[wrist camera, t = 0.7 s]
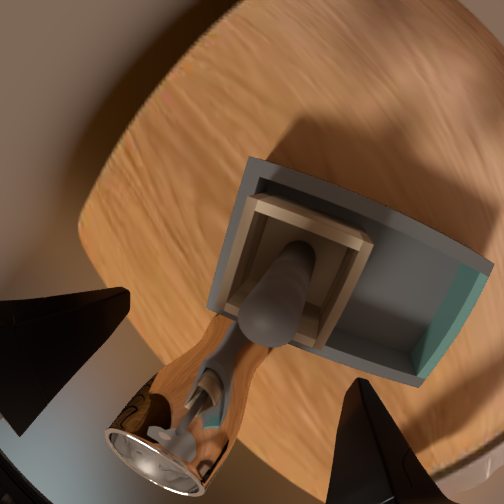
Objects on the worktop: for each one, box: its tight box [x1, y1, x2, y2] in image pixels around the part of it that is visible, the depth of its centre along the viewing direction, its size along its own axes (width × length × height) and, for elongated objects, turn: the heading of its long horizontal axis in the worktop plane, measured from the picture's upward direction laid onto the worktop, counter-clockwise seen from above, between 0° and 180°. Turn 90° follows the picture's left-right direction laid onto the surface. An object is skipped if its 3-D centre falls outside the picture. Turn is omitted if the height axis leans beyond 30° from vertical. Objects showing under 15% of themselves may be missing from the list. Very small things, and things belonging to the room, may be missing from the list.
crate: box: [215, 192, 374, 351], centre depth 15 cm, size 7×7×10 cm
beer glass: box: [104, 314, 270, 496], centre depth 17 cm, size 7×7×15 cm
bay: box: [206, 156, 494, 388], centre depth 18 cm, size 18×11×4 cm, turn 74°
